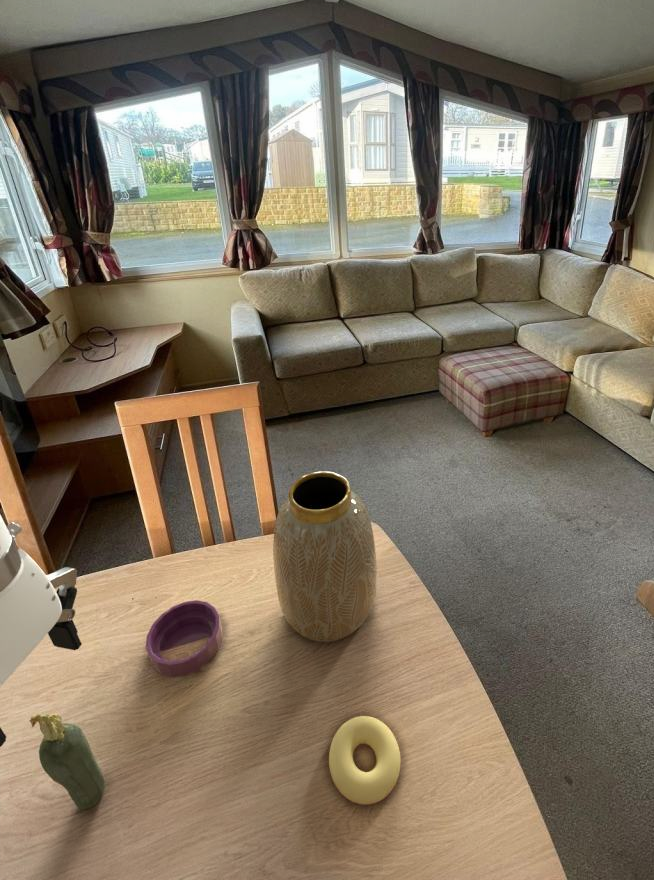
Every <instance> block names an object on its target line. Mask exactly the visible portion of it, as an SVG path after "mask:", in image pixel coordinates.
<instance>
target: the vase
mask: <svg viewBox="0 0 654 880" xmlns="http://www.w3.org/2000/svg"><path fill="white" fill-rule="evenodd" d="M370 517H371V516H370V515H369V512H368V510H367V508H366V505H365V503H364V502H363V501H362V499H361V498H360V497H359V495H358V494H357V493H355V492H354V491H353V490H352V489H351V485H350V483H349V480H347V478H345V477H344V476H342V475H341V474H338V473H336V472H332V471H316V472H311V473H308V474H305V475H303V476H301V477H299V478H298V479H297V480H295V481H294V482H293V484H292V485H291V486H290V488H289V491H288V498H287V499H286V500H285V501H284V503H283V504H282V506H281V508H280V509H279V511H278V513H277V516H276V520H275V523H274V530H273V543H272V544H273V546H272V547H273V549H272V553H273V555H272V556H273V570H274V579H275V585H276V591H277V597H278V603H279V607H280V609H281V613H282V615H283V617H284V618H285V620H286V622H287V623H288V625H289V626H290V627H291V628H292V629H293V630H294V631H295V632H296V633H298V634H299V635H301V636H302V637H304V638H306V639H309V640H311V641H314V642H321V643H323V642H324V643H326V642H327V643H329V642H335V641H338V640H342V639H344V638H346V637H349V636H350V635H352V634H353V633H354V632H356V631H357V630H358V629H359V628H360V627H361V626H362V625H363V623H364V622H365V621H366V620H367V618H368V617H369V615H370V613H371V612H372V609H373V607H374V603H375V600H376V596H377V580H378V579H377V577H378V576H377V574H378V573H377V570H378V569H377V567H378V566H377V554H376V546H375V545H376V544H375V537H374V531H373V526H372V522H371V518H370Z"/></svg>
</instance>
